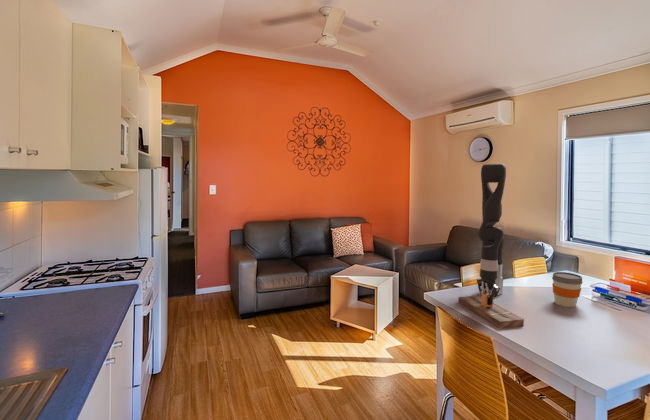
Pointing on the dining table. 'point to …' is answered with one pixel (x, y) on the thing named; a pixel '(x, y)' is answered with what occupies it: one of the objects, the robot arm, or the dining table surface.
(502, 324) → the brown wooden board
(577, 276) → the reusable coffee cup
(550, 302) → the dining table surface
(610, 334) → the dining table surface
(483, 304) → the fader tab
